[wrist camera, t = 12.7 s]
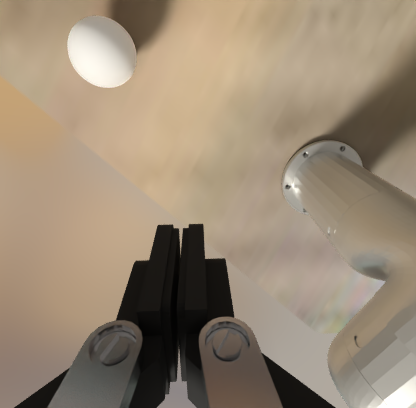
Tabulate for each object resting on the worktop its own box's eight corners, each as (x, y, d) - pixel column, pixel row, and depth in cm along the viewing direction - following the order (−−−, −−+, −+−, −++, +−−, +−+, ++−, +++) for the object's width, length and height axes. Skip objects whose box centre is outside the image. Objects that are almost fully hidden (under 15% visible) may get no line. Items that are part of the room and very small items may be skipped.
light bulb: (112, 11, 33) (76, -13, 23) (156, 54, 35) (140, 49, 25) (83, 58, 35) (38, 54, 25) (126, 95, 37) (101, 105, 28)
